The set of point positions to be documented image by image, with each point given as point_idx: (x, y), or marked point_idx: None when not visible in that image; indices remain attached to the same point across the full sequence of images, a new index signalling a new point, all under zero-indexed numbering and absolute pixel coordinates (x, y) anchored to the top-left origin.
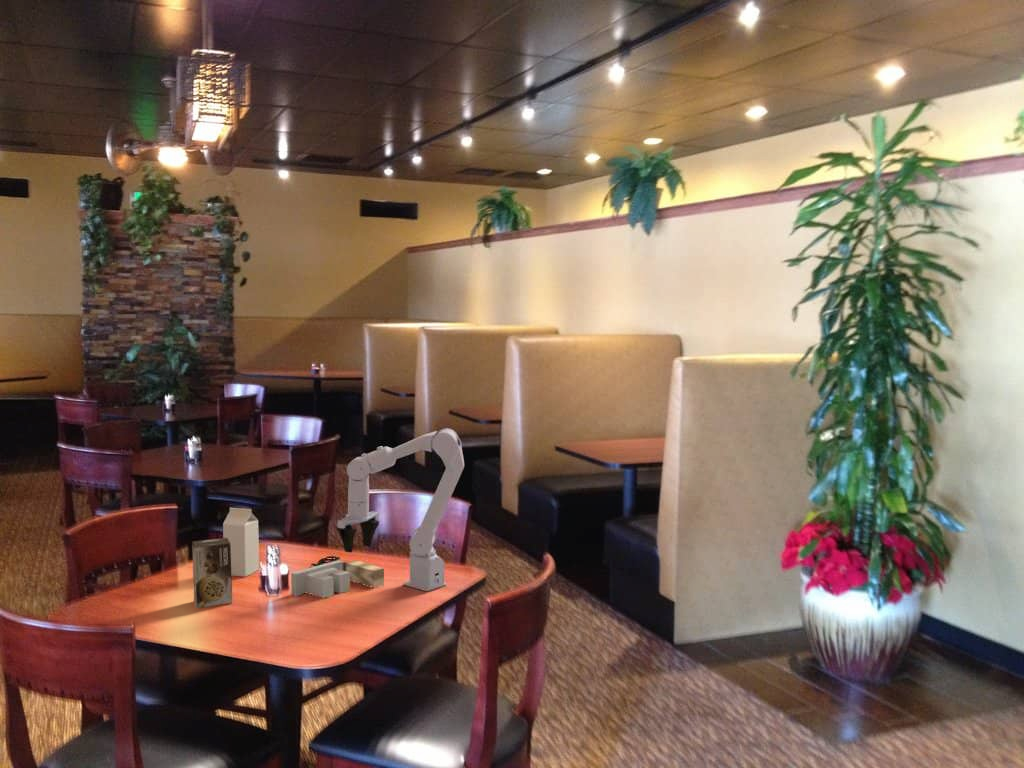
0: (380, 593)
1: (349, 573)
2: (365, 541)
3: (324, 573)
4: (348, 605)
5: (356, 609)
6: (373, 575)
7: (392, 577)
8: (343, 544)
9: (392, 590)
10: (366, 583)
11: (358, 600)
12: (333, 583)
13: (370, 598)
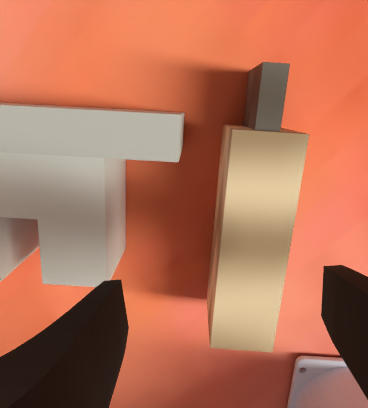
0: (175, 352)
1: None
2: (339, 307)
3: (3, 200)
4: None
5: None
6: (209, 327)
7: (360, 262)
8: (74, 308)
9: (226, 362)
10: (211, 260)
11: None
12: (17, 266)
13: None
